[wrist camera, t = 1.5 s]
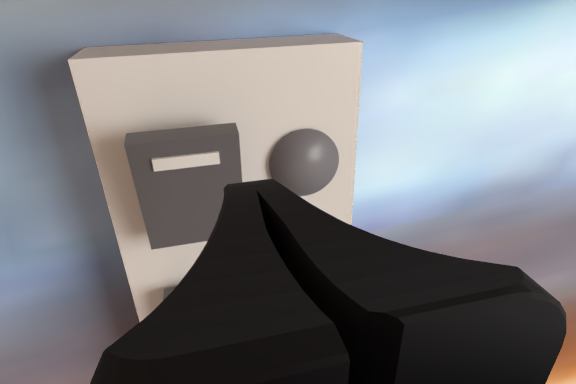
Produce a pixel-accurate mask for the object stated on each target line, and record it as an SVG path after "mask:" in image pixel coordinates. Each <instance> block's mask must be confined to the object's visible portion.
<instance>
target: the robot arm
mask: <svg viewBox="0 0 576 384" xmlns="http://www.w3.org/2000/svg"><path fill="white" fill-rule="evenodd" d="M565 335H566V313H565V311H564V309H563V307H562V306H561V304H560V302H559V301H558V300H556V299H555V298H554V297H553V296H552V295H550V294H549V293H548V292H547V291H546V290H545V289H543V288H542V287H541V286H540V285H539V284H537V283H536V282H535V281H534V280H533V279H531V278H530V277H529V276H528V275H527V274H525V273H524V272H523V271H522V270H521V269H520V268H518V267H515V266H508V265H501V264H494V263H488V262H481V261H474V260H467V259H462V258H456V257H452V256H447V255H443V254H438V253H434V252H429V251H425V250H421V249H418V248H414V247H410V246H407V245H404V244H400V243H397V242H394V241H391V240H388V239H385V238H382V237H379V236H376V235H374V234H371V233H369V232H366V231H364V230H361V229H359V228H357V227H354V226H352V225H350V224H347V223H345V222H343V221H341V220H339V219H337V218H335V217H334V216H332V215H330V214H328V213H326V212H324V211H322V210H321V209H319V208H317V207H316V206H314V205H312V204H311V203H309V202H307V201H306V200H304V199H303V198H301V197H300V196H298V195H297V194H295V193H294V192H292V191H291V190H289V189H288V188H286V187H285V186H283V185H282V184H280V183H279V182H277V181H276V180H274V179H265V180H257V181H249V182H241V183H233V184H227V185H226V186H225V187H224V199H223V203H222V207H221V210H220V213H219V216H218V219H217V222H216V224H215V226H214V228H213V231H212V233H211V235H210V237H209V239H208V241H207V243H206V245H205V246H204V248H203V250H202V252H201V253H200V255H199V256H198V258H197V260H196V261H195V263H194V264H193V266H192V267H191V268H190V270H189V271H188V272H187V274H186V275H185V276H184V277H183V279H182V280H181V281H180V283H179V284H178V285H177V286H176V287H175V289H174V290H173V291H172V292H171V293H170V294H169V295H168V296H167V297H166V298H165V299H164V300H163V301H162V302H161V303H160V304H159V305H158V306H157V307H156V308H155V309H154V310H153V311H152V312H151V313H150V314H149V315H148V316H147V317H146V318H144V319H143V320H142V321H141V322H140V323H138V324H137V325H136V326H135V327H133V328H132V329H131V330H130V331H128V332H127V333H126V334H125V335H123V336H122V337H121V338H120V339H118V340H117V341H116V342H115V343H113V344H112V345H111V346H109V347H108V348H106V349H105V351H104V352H103V354H102V356H101V359H100V361H99V363H98V366H97V368H96V370H95V373H94V375H93V378H92V380H91V383H90V384H545V383H546V381H547V379H548V376H549V374H550V372H551V370H552V368H553V365H554V363H555V361H556V359H557V356H558V354H559V352H560V350H561V348H562V345H563V341H564V338H565Z"/></svg>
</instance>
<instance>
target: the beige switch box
mask: <svg viewBox="0 0 576 384" xmlns="http://www.w3.org/2000/svg"><path fill="white" fill-rule="evenodd" d="M362 51H363V41H359V40H356V39H353V38H350V37H347V36H344V35H340V34H337V33H336V34H318V35H300V36H282V37H264V38H246V39H228V40H210V41H192V42H174V43H156V44H138V45H120V46H102V47H85V48H83V49H82V50H80V51H79V52H78V53H76V54H75V55H73V56H72V57H71V58H69V59H68V63H69V66H70V70H71V74H72V77H73V81H74V84H75V88H76V92H77V95H78V99H79V103H80V106H81V110H82V114H83V117H84V121H85V125H86V128H87V132H88V136H89V139H90V143H91V146H92V150H93V154H94V157H95V161H96V165H97V168H98V172H99V176H100V179H101V183H102V187H103V190H104V194H105V197H106V201H107V205H108V208H109V212H110V216H111V219H112V223H113V227H114V230H115V234H116V238H117V241H118V245H119V249H120V252H121V256H122V259H123V263H124V267H125V270H126V274H127V278H128V281H129V285H130V289H131V292H132V296H133V300H134V303H135V307H136V311H137V314H138V318H139V321H140V322H141V321H142V320H143V319H144V318H146V317H147V316H148V315H149V314H150V313H151V312H152V311H153V310H154V309H155V308H156V307H157V306H158V305H159V304H160V303H161V302H162V301H163V293H164V289H166V288H172V287H176V286H177V285H178V284H179V283H180V281H181V280H182V279H183V277H184V276H185V275H186V274H187V272H188V271H189V270H190V268H191V267H192V266H193V264H194V263H195V261H196V260H197V258H198V256H199V255H200V253H201V252H202V250H203V248H204V246H205V245H206V243H207V241H203V242H197V243H191V244H184V245H178V246H172V247H165V248H159V249H153V250H151V246H150V242H149V238H148V234H147V231H146V227H145V223H144V219H143V215H142V212H141V208H140V204H139V200H138V196H137V193H136V189H135V185H134V181H133V177H132V174H131V170H130V166H129V162H128V158H127V155H126V151H125V147H124V142H125V136H126V133H134V132H144V131H154V130H165V129H175V128H185V127H195V126H205V125H215V124H225V123H236V126H237V129H238V132H239V141H240V156H241V171H242V182H249V181H257V180H265V179H274V180H276V181H277V182H279V183H280V184H282V185H283V186H285V187H286V188H288V189H289V190H291V191H292V192H294V193H295V194H297V195H298V196H300V197H301V198H303V199H304V200H306V201H307V202H309V203H311V204H312V205H314V206H316V207H317V208H319V209H321V210H322V211H324V212H326V213H328V214H330V215H332V216H334V217H335V218H337V219H339V220H341V221H343V222H345V223H347V224H350V225H351V224H352V208H353V193H354V177H355V161H356V145H357V129H358V114H359V98H360V82H361V66H362Z"/></svg>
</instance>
